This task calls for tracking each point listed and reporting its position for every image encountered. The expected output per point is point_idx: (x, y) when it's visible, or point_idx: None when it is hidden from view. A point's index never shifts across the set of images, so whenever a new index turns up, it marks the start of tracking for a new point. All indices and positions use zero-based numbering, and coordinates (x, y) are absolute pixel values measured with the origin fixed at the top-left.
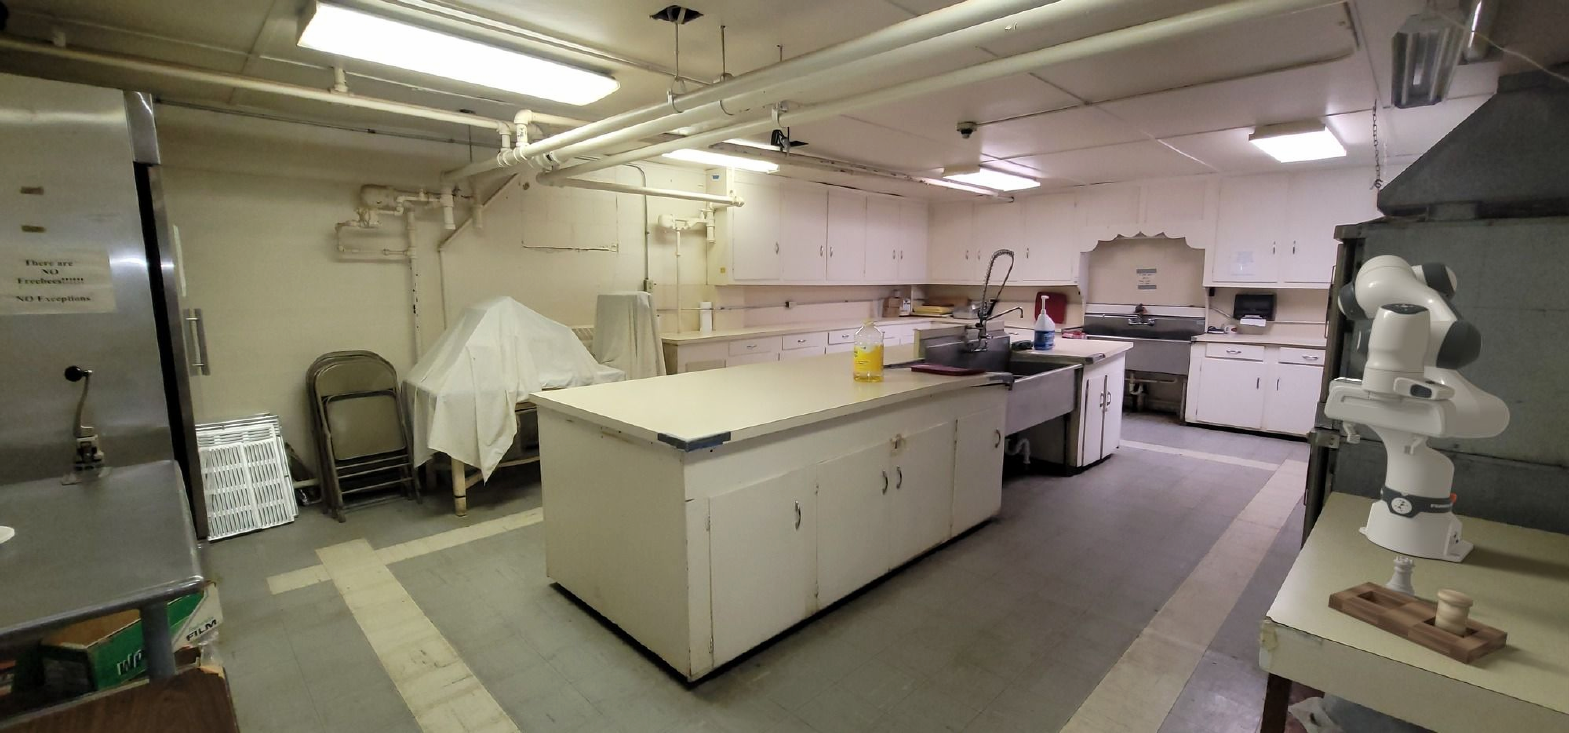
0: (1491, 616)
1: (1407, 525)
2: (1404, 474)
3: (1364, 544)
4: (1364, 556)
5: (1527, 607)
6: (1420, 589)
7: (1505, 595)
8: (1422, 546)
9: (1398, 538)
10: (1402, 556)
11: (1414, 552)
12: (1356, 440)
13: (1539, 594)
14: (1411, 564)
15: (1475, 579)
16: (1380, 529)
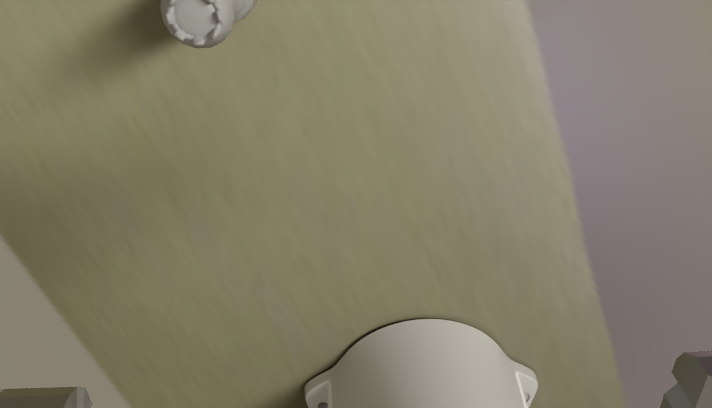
0: (43, 99)
1: (413, 402)
2: None
3: (484, 299)
4: (440, 209)
5: (73, 256)
6: (229, 106)
7: (139, 283)
8: (367, 367)
9: (420, 356)
10: (214, 38)
11: (376, 340)
12: (702, 405)
13: (124, 358)
14: (165, 5)
15: (227, 319)
16: (475, 369)
